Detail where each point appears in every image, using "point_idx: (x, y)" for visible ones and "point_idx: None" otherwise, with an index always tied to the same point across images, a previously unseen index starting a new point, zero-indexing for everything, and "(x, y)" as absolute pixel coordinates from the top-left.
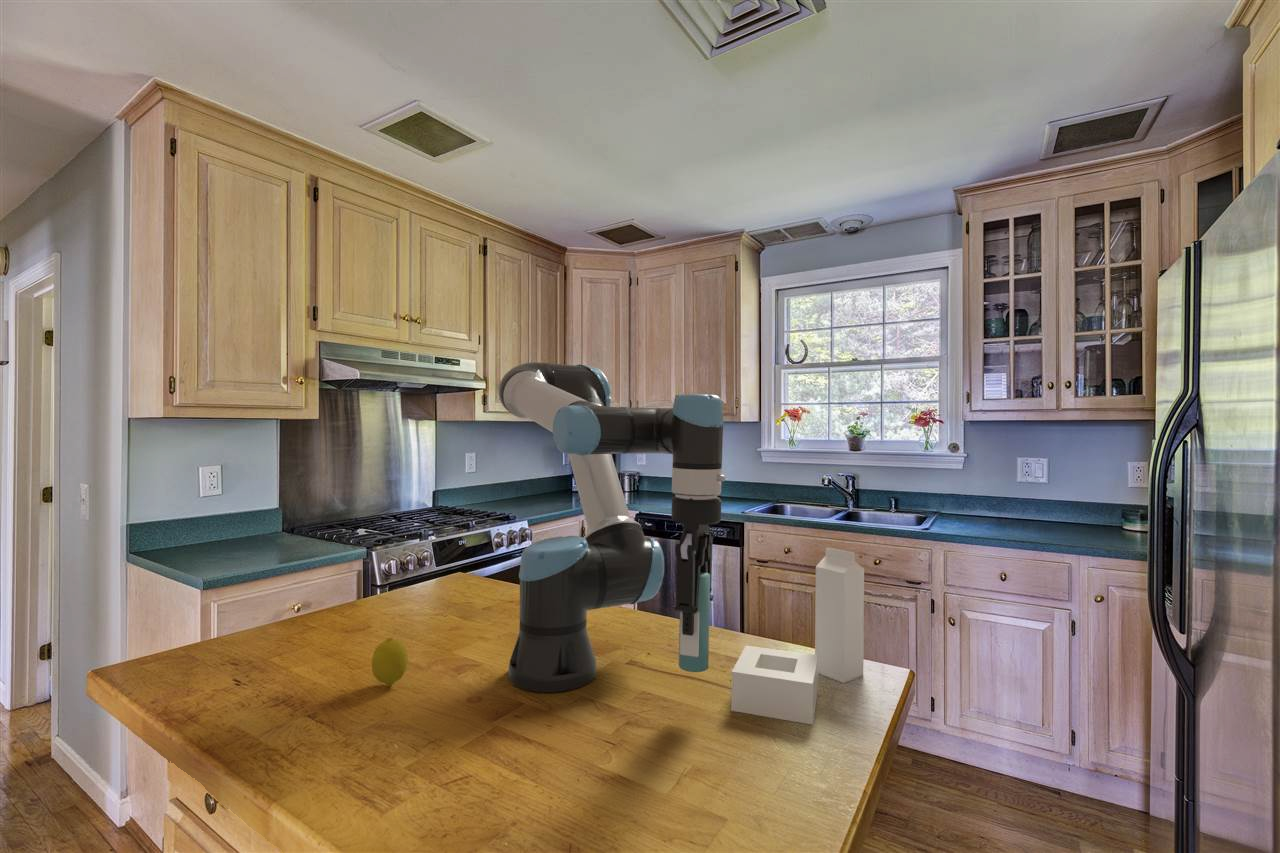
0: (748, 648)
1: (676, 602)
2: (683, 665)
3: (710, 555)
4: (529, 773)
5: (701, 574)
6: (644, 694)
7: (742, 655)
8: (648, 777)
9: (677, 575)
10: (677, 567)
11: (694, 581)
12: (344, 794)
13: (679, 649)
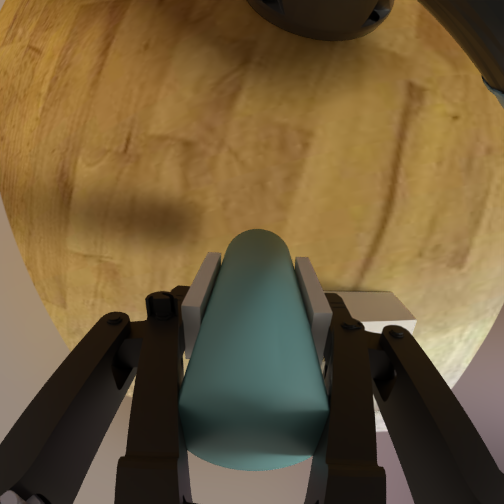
0: (403, 326)
1: (92, 328)
2: (227, 248)
3: (411, 491)
4: (50, 97)
5: (264, 452)
6: (299, 138)
7: (370, 324)
8: (80, 222)
9: (36, 401)
10: (17, 426)
11: (99, 437)
12: (18, 5)
13: (240, 243)
